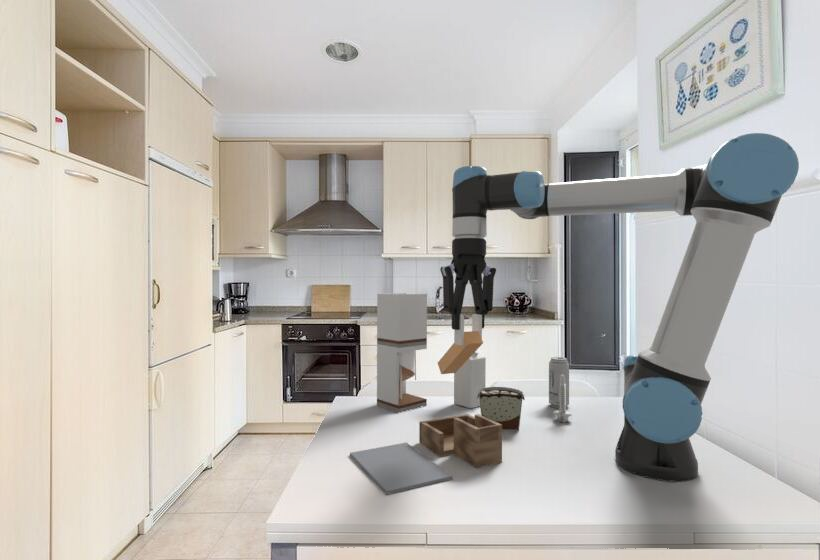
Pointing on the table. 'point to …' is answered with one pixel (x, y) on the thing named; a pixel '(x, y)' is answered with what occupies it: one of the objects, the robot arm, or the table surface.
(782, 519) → the table surface
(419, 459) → the mat
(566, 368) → the energy drink can
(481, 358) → the milk carton
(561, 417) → the screw
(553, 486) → the table surface
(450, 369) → the tan wooden beam
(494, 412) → the food container
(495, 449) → the pocket block
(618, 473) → the table surface
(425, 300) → the white cabinet tower
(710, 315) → the robot arm
